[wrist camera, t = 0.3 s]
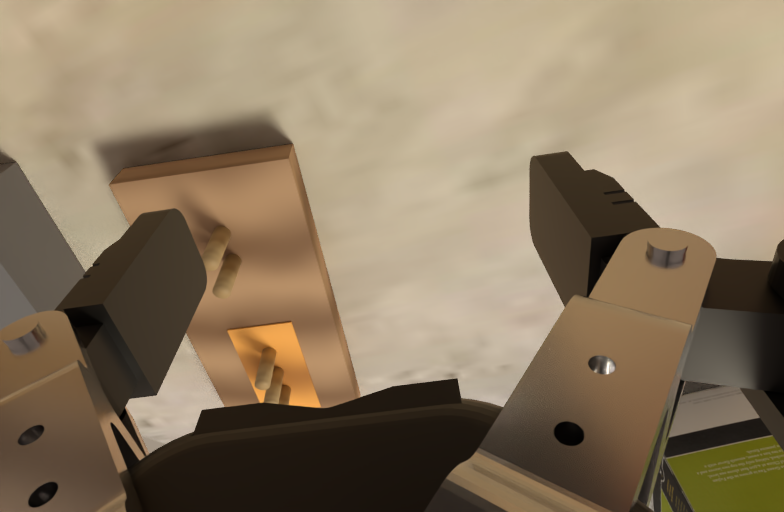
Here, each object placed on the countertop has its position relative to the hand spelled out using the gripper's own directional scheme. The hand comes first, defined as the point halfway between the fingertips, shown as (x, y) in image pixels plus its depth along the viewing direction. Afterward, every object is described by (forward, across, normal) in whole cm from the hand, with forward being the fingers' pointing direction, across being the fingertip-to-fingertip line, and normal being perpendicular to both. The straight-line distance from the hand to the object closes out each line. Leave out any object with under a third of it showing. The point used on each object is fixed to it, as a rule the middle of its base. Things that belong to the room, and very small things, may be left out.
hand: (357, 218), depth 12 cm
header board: (+18, +10, +15) cm, 25 cm away
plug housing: (+18, +23, +7) cm, 30 cm away
